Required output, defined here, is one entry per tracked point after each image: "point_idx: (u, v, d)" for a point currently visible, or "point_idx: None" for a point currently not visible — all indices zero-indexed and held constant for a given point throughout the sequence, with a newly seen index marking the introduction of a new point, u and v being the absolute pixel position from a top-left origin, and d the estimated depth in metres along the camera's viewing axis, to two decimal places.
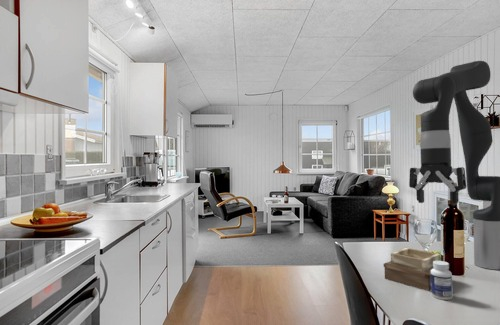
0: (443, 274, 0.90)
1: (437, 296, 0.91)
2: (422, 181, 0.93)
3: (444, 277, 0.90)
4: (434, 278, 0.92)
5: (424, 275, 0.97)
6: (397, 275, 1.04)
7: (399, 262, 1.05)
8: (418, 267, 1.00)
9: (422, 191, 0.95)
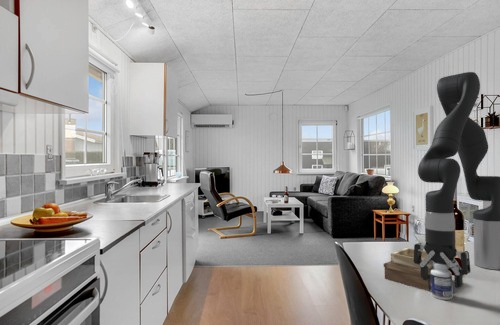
0: (443, 274, 0.90)
1: (437, 296, 0.91)
2: (426, 260, 0.94)
3: (444, 277, 0.90)
4: (434, 278, 0.92)
5: None
6: (397, 275, 1.04)
7: (399, 262, 1.05)
8: (418, 267, 1.00)
9: (426, 268, 0.96)
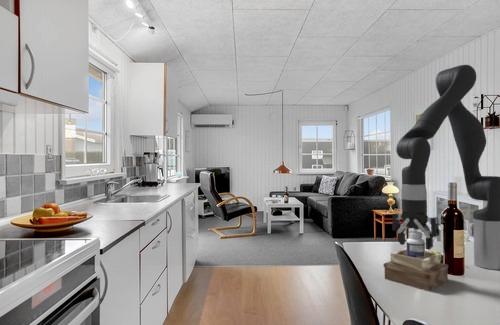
0: (416, 242, 1.04)
1: None
2: (403, 226, 1.08)
3: (418, 244, 1.04)
4: (409, 246, 1.06)
5: (424, 275, 0.97)
6: (397, 275, 1.04)
7: (399, 262, 1.05)
8: (418, 267, 1.00)
9: (403, 234, 1.09)
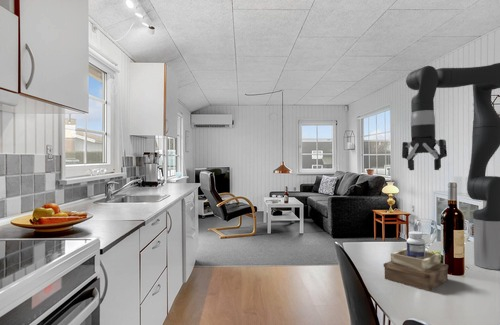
0: (416, 242, 1.04)
1: None
2: (412, 152, 1.15)
3: (418, 244, 1.04)
4: (409, 246, 1.06)
5: (424, 275, 0.97)
6: (397, 275, 1.04)
7: (399, 262, 1.05)
8: (418, 267, 1.00)
9: (412, 161, 1.17)
